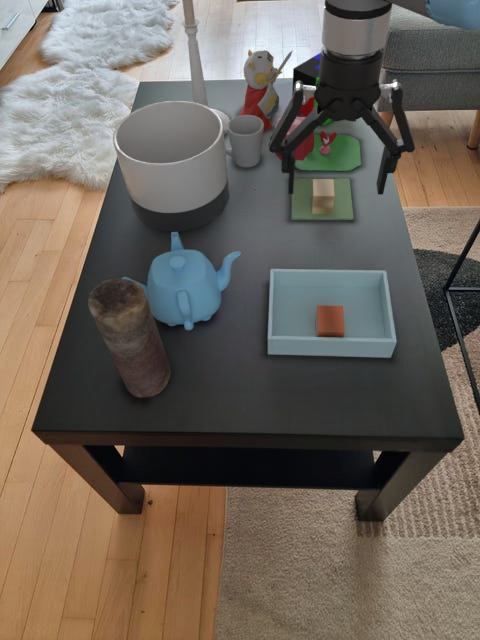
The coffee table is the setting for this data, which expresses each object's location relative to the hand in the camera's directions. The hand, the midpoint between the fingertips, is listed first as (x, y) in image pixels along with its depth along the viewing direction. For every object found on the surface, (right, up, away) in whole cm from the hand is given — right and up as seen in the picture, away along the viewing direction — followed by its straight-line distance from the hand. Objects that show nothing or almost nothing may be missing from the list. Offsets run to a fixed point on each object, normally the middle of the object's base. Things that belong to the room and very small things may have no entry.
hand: (334, 188), depth 75 cm
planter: (-26, +2, +23) cm, 35 cm away
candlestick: (-23, +26, +40) cm, 53 cm away
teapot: (-24, -17, +9) cm, 31 cm away
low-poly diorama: (+2, +16, +31) cm, 35 cm away
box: (0, -20, +5) cm, 21 cm away
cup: (-14, +15, +32) cm, 38 cm away
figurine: (-9, +29, +41) cm, 51 cm away
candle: (-29, -30, +1) cm, 41 cm away
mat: (+2, +4, +23) cm, 23 cm away
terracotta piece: (0, -23, +3) cm, 23 cm away
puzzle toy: (+5, +31, +42) cm, 52 cm away
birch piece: (+2, +2, +21) cm, 21 cm away
